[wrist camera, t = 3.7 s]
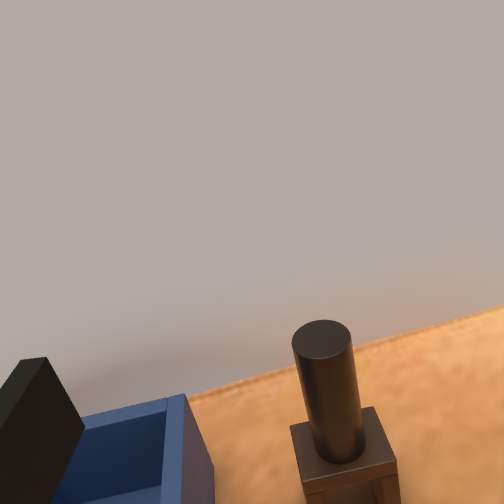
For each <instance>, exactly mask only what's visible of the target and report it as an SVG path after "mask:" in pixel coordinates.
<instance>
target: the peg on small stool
mask: <svg viewBox="0 0 504 504" xmlns="http://www.w3.org/2000/svg"><path fill="white" fill-rule="evenodd" d="M292 348H293V352H294V357H295V361H296V366H297V370H298V375H299V379H300V383H301V388H302V392H303V397H304V401H305V406H306V410H307V415H308V419H309V421H308V422H303V423H299V424H295V425H291V426H290V431H291V436H292V440H293V445H294V450H295V454H296V459H297V464H298V468H299V473H300V478H301V482H302V486H303V490H304V494H305V498H306V502H307V504H325V502H324V498H323V493H322V491H325V490H329V489H333V488H338V487H342V486H346V485H351V484H355V483H359V482H364V481H368V480H370V481H371V484H372V486H373V489H374V492H375V495H376V498H377V500H378V503H379V504H401V498H400V488H399V478H398V469H397V460H396V458H395V455H394V453H393V451H392V448H391V446H390V444H389V441H388V439H387V437H386V434H385V432H384V430H383V427H382V425H381V423H380V420H379V418H378V416H377V413H376V411H375V409H374V407H373V406H372V407H368V408H363V409H361V404H360V397H359V390H358V383H357V376H356V369H355V362H354V355H353V348H352V341H351V335H350V332H349V330H348V329H347V328H346V327H345V326H344V325H342V324H341V323H339V322H336V321H331V320H317V321H312V322H309V323H307V324H305V325H303V326H302V327H300V328H299V329H298V330H297V331H296V332H295V334H294V335H293V338H292Z"/></svg>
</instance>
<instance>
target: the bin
mask: <svg viewBox="0 0 504 504" xmlns="http://www.w3.org/2000/svg"><path fill="white" fill-rule="evenodd" d="M81 419H82V421H83V423H84V425H85V429H84V431H83V434H82V436H81V438H80V440H79V442H78V445H77V447H76V449H75V451H74V453H73V456H72V458H71V460H70V462H69V464H68V466H67V469H66V471H65V473H64V475H63V477H62V480H61V482H60V484H59V486H58V488H57V491H56V493H55V495H54V497H53V499H52V502H51V504H215V494H214V466H213V464H212V461H211V458H210V456H209V453H208V451H207V448H206V446H205V443H204V441H203V438H202V436H201V433H200V431H199V428H198V426H197V423H196V421H195V418H194V415H193V413H192V410H191V408H190V405H189V403H188V400H187V398H186V396H185V394H179V395H175V396H171V397H168V398H162V399H158V400H154V401H149V402H145V403H141V404H137V405H132V406H129V407H124V408H120V409H116V410H111V411H107V412H103V413H99V414H94V415H90V416H86V417H82V418H81Z"/></svg>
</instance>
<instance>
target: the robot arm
mask: <svg viewBox="0 0 504 504" xmlns="http://www.w3.org/2000/svg"><path fill="white" fill-rule="evenodd" d="M84 429H85V425H84V423H83V421H82V419H81V418H80V416H79V414H78V412H77V410H76V409H75V407H74V405H73V403H72V401H71V400H70V398H69V396H68V394H67V393H66V391H65V389H64V387H63V385H62V384H61V382H60V380H59V378H58V376H57V375H56V373H55V371H54V370H53V368H52V366H51V364H50V362H49V360H48V359H47V357H41V358H33V359H24V360H20V362H19V363H18V365H17V366H16V368H15V369H14V370H13V372H12V373H11V374H10V376H9V377H8V379H7V380H6V382H5V383H4V384H3V386H2V387H1V389H0V504H51V502H52V499H53V497H54V495H55V493H56V491H57V488H58V486H59V484H60V482H61V480H62V477H63V475H64V473H65V471H66V469H67V466H68V464H69V462H70V460H71V458H72V456H73V453H74V451H75V449H76V447H77V445H78V442H79V440H80V438H81V436H82V434H83V431H84Z"/></svg>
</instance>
